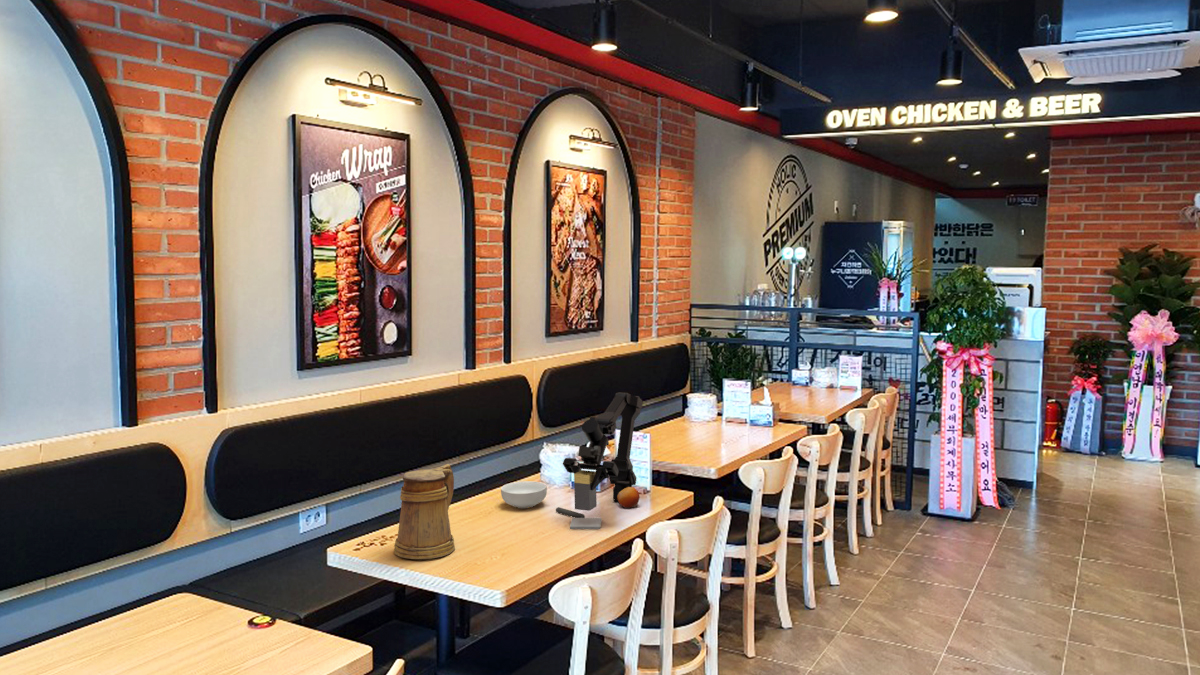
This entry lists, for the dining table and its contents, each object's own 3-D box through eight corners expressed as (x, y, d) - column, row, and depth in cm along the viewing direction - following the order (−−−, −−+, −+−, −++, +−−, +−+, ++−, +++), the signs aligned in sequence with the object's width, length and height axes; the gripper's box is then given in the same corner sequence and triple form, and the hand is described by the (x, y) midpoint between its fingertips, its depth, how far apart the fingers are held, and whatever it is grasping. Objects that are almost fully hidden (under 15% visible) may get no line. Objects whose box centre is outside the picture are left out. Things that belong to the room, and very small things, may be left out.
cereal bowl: (504, 499, 333) (504, 480, 333) (549, 499, 332) (548, 480, 332) (497, 512, 316) (497, 492, 316) (544, 512, 316) (544, 492, 315)
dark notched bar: (554, 512, 315) (554, 507, 315) (558, 511, 316) (558, 506, 316) (581, 520, 305) (581, 515, 305) (586, 519, 306) (585, 513, 306)
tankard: (381, 556, 270) (378, 475, 268) (430, 534, 291) (427, 459, 289) (429, 565, 262) (427, 481, 260) (475, 542, 283) (473, 464, 281)
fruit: (645, 505, 317) (633, 486, 317) (626, 516, 318) (614, 497, 317) (644, 499, 325) (632, 480, 325) (626, 510, 326) (614, 491, 325)
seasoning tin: (581, 504, 303) (581, 470, 301) (596, 506, 300) (595, 471, 299) (574, 509, 298) (574, 473, 296) (589, 510, 295) (589, 475, 294)
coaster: (601, 520, 304) (601, 517, 304) (600, 529, 294) (600, 526, 294) (572, 520, 305) (572, 517, 304) (569, 529, 295) (569, 526, 295)
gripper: (564, 434, 304) (550, 473, 295) (614, 438, 297) (602, 478, 288) (574, 452, 312) (561, 491, 303) (624, 456, 305) (612, 496, 296)
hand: (583, 488), depth 297 cm, fingers closed on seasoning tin, 5 cm apart
